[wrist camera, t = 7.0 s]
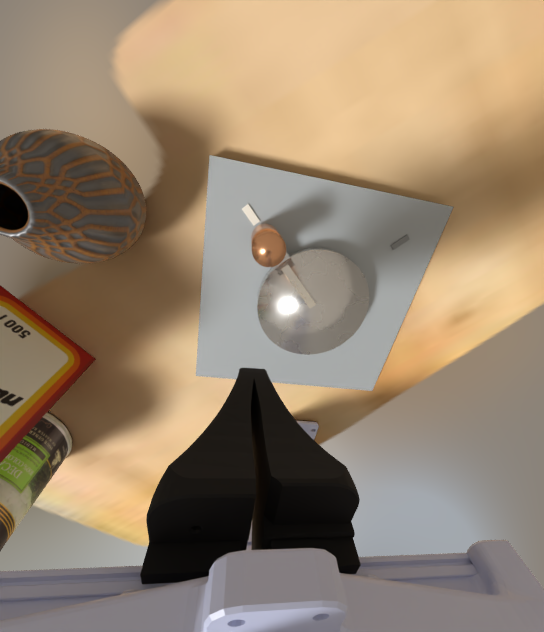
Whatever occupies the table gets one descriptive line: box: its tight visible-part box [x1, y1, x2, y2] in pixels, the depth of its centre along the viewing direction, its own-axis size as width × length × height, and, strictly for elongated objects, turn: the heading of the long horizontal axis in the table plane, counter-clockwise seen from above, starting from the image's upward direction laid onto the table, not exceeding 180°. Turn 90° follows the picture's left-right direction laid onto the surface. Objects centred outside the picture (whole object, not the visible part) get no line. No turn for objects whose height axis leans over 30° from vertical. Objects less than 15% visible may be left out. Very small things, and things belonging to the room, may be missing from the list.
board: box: [196, 155, 453, 391], centre depth 22 cm, size 18×18×1 cm
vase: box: [0, 129, 146, 263], centre depth 14 cm, size 7×7×9 cm
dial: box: [251, 223, 369, 355], centre depth 19 cm, size 12×9×4 cm
